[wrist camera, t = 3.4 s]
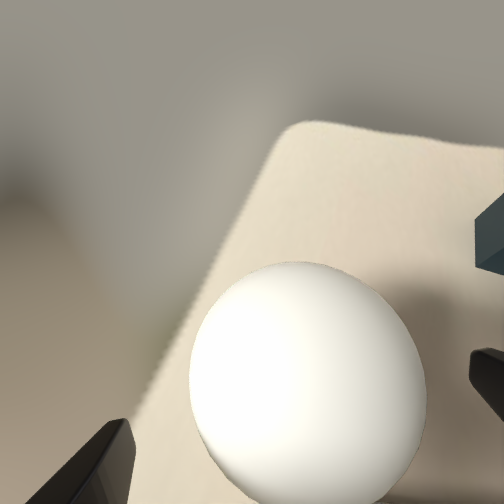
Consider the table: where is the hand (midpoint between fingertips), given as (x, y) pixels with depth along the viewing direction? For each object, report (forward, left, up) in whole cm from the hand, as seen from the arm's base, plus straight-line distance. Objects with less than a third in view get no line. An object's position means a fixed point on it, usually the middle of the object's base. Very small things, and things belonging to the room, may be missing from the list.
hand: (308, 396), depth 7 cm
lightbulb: (+1, 0, -9) cm, 9 cm away
